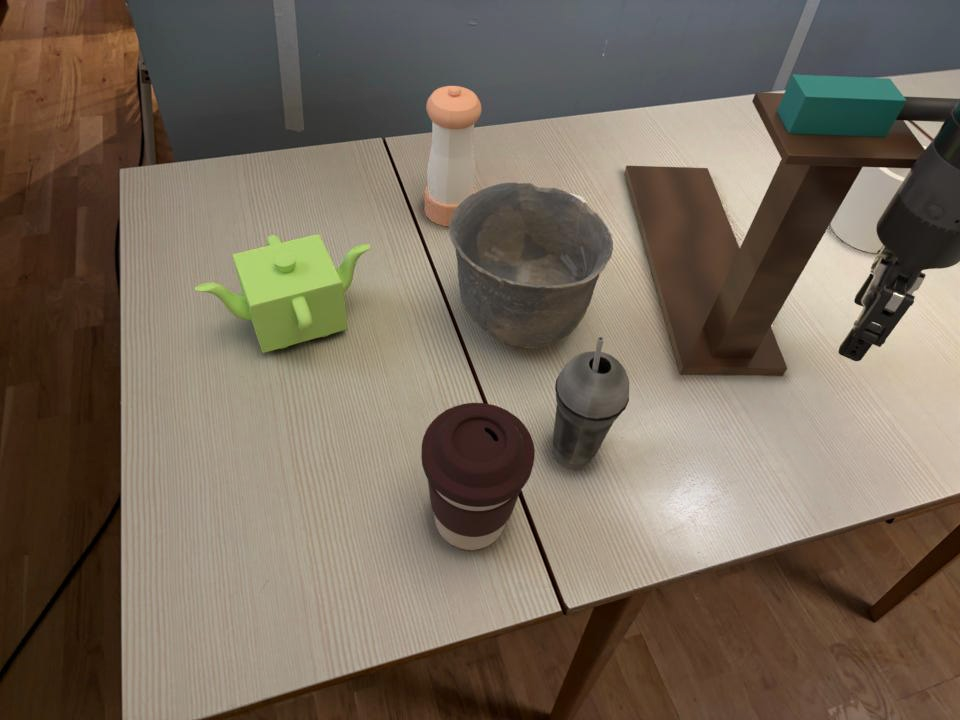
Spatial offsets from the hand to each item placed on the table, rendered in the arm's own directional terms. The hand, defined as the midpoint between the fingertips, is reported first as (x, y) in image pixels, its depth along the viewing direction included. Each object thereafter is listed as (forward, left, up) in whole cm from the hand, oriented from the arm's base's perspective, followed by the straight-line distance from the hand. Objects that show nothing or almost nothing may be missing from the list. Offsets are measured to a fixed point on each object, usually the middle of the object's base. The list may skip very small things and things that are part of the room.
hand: (856, 329), depth 73 cm
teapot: (+56, +24, -15) cm, 63 cm away
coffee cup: (+24, +34, -15) cm, 44 cm away
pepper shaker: (+53, -5, -15) cm, 56 cm away
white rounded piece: (+5, -45, -15) cm, 48 cm away
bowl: (+34, +8, -15) cm, 38 cm away
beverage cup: (+19, +21, -15) cm, 32 cm away
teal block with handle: (+6, -7, +18) cm, 20 cm away
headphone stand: (+20, -17, -14) cm, 30 cm away
